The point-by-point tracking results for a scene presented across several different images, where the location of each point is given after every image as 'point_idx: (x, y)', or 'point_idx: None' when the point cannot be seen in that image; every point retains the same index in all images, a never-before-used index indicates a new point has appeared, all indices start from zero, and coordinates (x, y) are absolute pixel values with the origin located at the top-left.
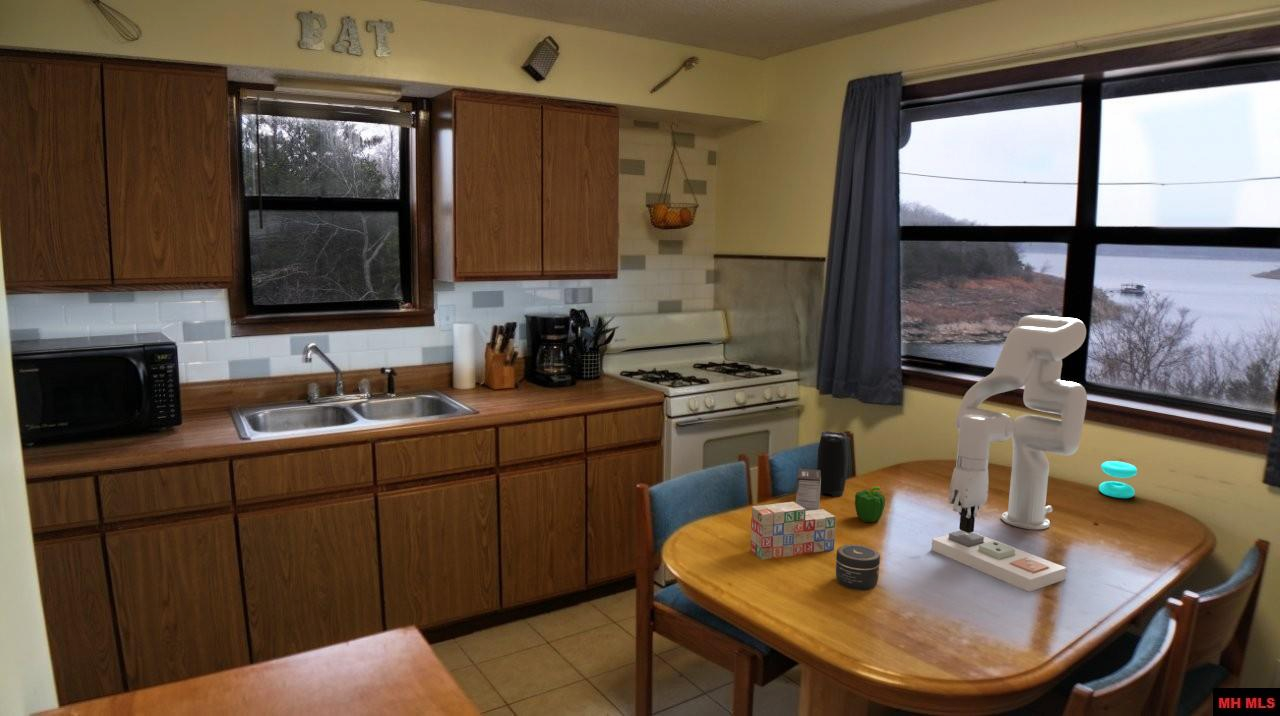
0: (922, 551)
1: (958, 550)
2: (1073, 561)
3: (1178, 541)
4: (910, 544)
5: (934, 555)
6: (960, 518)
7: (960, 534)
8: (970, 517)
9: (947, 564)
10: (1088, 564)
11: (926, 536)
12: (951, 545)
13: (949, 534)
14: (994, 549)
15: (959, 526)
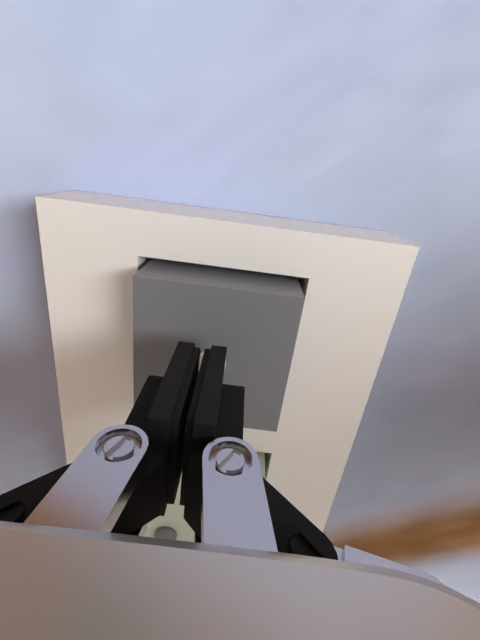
0: (8, 171)
1: (58, 383)
2: (466, 570)
3: None
4: (14, 37)
5: (33, 248)
6: (158, 394)
7: (187, 333)
8: (180, 493)
9: (13, 344)
10: (471, 596)
11: (243, 3)
12: (70, 332)
13: (135, 277)
14: (155, 523)
15: (176, 348)
